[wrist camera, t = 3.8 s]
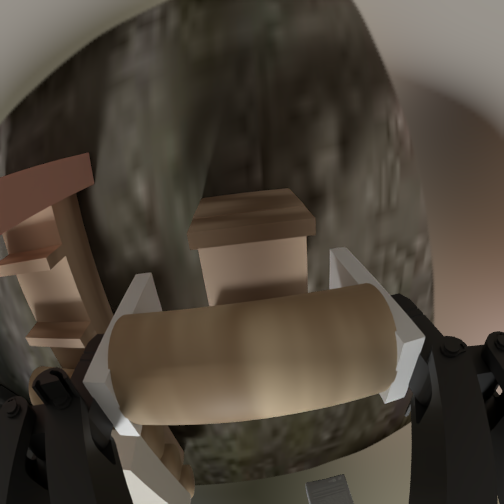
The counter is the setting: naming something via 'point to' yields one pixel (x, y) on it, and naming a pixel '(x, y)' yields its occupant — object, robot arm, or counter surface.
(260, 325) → the roller
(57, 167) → the block
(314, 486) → the skincare box
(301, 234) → the pedestal
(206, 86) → the counter surface
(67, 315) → the roller bed
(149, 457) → the slab
